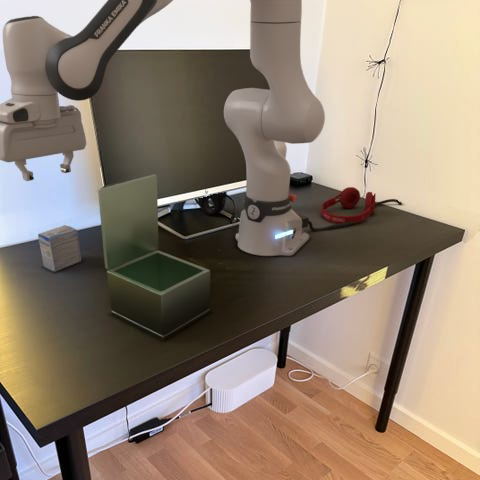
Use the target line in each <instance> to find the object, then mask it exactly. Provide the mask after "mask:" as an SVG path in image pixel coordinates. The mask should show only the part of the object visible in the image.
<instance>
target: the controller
mask: <svg viewBox="0 0 480 480" xmlns="http://www.w3.org/2000/svg"><path fill="white" fill-rule="evenodd" d="M227 194H228V192H227V191H226V192H224V193H218V194H213V195H210V196H207V197H203V198H198V197H197V203H198V206H199V208H200V209H201V211H203V212H204V214H206V215H209V216H215V215H218V214H220V213H221V212H222V211H223V210H224V209H225V205H226V203H227V201H226V200H227ZM209 200H210V201H212V204H213V208H212V207H211V206H210V202H209Z"/></svg>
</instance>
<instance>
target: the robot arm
mask: <svg viewBox="0 0 480 480" xmlns="http://www.w3.org/2000/svg"><path fill="white" fill-rule="evenodd" d="M173 1H174V0H107V1H106V2H105V3H104V4H103V5H102V6H101V7H100V9H99V10H98V12H97V13H96V14H95V15H94V16H93V17H92V18H91V20H90V21H89V22H88V23H87V24H86V25H85V26H84V28H82V29H81V31H80V32H78V33H77V34H75V35H71V34H69V33H67V32H64V31H63V30H60V29H59V28H57V27H55V26H54V25H52V24H51V23H49V22H48V21H46V20H45V19H44V18H43V17H42V16H38V15H29V16H22V17H17V18H12V19H11V18H10V19H9V20H8V21H6V23H5V24H4V26H3V28H2V45H3V46H2V47H3V54H4V60H5V67H6V71H7V72H8V74H9V77H10V82H11V85H10V93H11V98H9V99H8V100H7V99H6V100H5V101H3V102H1V103H0V161H2V162H5V163H13V162H14V165H15V166H16V168H17V169H19V171H20V172H21V175H22V179H23V181H25V182H29V181H34V180H35V177H34V172H33V171H31V170H28V169H27V166H26V165H27V160H31V159H37V158H43V157H48V156H54V155H59V154H62V156H64V157H63V162H62V163H59V167H60V172H61V173H63V174H68V173H71V172H72V168H71V167H72V166H71V164H72V163H73V159H74V156H75V155H74V152H78V151H82V150H85V149H86V146H87V138H86V133H85V128H84V125H83V122H82V120H83V119H82V114H81V113H82V112H81V110H80V109H79V108H78V107H76V106H74V105H72V104H71V105H70V104H69V105H66V106H65V105H60V99H59V95H61V96H62V97H64V98H66V99H67V100H71V101H76V102H78V101H87V100H89V99H91V98H92V97H94V96H95V95H96V94H97V93H98V92H99V90H100V88H101V87H102V85H103V82H104V77H105V73H106V69H107V66H108V64H109V63H110V61H111V59H112V58H113V56H114V55H115V54H116V53H117V51H118V50H119V49H120V48H121V47H122V46H123V44H124V43H125V42H126V41H127V40H128V39H129V37H130V36H131V35H132V33H133V32H134V31H135V30H136V29H137V28H138V27H139V26H140V25H141V24H142V23H143V22H145V21H146V20H147V19H149V18H150V17H152V16H154V15H155V14H157V13H159V12H160V11H162V10H163V9H165V8H166V7H167V6H169V5H170V4H171V3H172V2H173ZM249 2H250V11H249V12H250V14H249V15H250V16H249V17H250V18H249V20H250V22H249V28H250V29H249V34H250V35H249V58H250V61H251V65H252V66H253V68H255V69H256V70H257V71H259V72H260V73H261V74H262V75H263V77H264V79H265V80H266V81H267V84H268V87H269V89H266V88H265V89H264V88H256V87H247V88H240V89H235V90H233V91H231V92H230V93H229V95H228V96H227V98H226V101H225V103H224V106H223V107H224V108H223V117H224V122H225V124H226V126H227V128H228V129H229V130H230V131H231V132H232V133H233V134H234V136H235V138H236V139H237V141H238V143H239V145H240V147H241V150H242V152H243V156H244V160H245V167H246V182H245V183H246V184H245V185H246V186H245V187H246V188H245V193H244V197H243V210H242V211H241V213H240V218H239V226H238V233H236V234H235V236H234V238H235V240H236V241H237V247H238V248H239V249H240V250H241V251H242V252H245V253H247V254H250V255H254V256H262V257H274V256H285V257H287V256H289V257H290V256H293V255H295V254H296V253H297V252H298V251H299V250H300V248H301V247H302V246H304V245H305V243H307V242H308V241H309V239H310V235H309V234H308V233H307V232H305V231H304V230H303V229H304V228H308V226H309V230H311V231H312V232H323V231H328V230H331V229H337V228H343V227H349V226H353V225H356V224H357V223H355V222H348V223H343V224H338V223H335V224H332V225H327V226H324V227H319V228H316V227H314V226H313V222H312V221H311V220H310V218H309V216H306V215H303V214H301V213H299V212H296V211H294V210H293V209H292V204H291V203H295V202H296V201H297V197H298V196H297V194H293V193H290V183H291V182H290V181H291V172H292V171H291V165H290V163H289V161H288V160H287V159H285V158H284V157H283V156H281V155H280V154H279V152H278V151H277V149H276V146H275V143H274V141H280V142H285V144H293V145H294V144H296V145H297V144H310V143H313V142H314V141H316V140H317V138H319V136H320V135H321V133H322V131H323V129H324V126H325V120H326V114H325V113H326V112H325V109H324V106H323V104H322V101H321V100H320V99H318V98H317V97H316V95H315V94H314V93H313V92H312V90H311V88H310V86H309V85H308V82H307V81H306V78H305V75H304V71H303V67H302V58H301V37H302V34H301V33H302V15H303V5H302V3H303V1H302V0H249ZM398 200H399V199H396V198H389V199H384V200H380V201H377V202H376V201H375V207H376V206H380V205H384V204H387V203H396V204H398V205H399V206H402V205H403V202H402V201H400V200H399V201H400V202H399V201H398Z"/></svg>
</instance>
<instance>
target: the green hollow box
mask: <svg viewBox="0 0 480 480" xmlns="http://www.w3.org/2000/svg"><path fill="white" fill-rule="evenodd" d="M106 277H107V286H108V293H109V295H108V296H109V303H110V311H111V316H114V317H115V318H118V319H120V320H122V321H123V322H126V323H127V324H130V325H132V326H133V327H136V328H137V329H140V330H142V331H143V332H146V333H147V334H149V335H151V336H153V337H155V338H158V339H160V340H161V341H165V340H167V339H169V338H170V337H172V336H173V335H175V334H177V333H179V332H181V331H182V330H183V329H185V328H187V327H189V326H190V325H192V324H193V323H195V322H197V321H199V320H200V319H202V318H203V317H205V316H207V315H208V314H210V313H211V270H210V269H208V268H205V267H203V266H201V265H197V264H195V263H192V262H189V261H187V260H185V259H182V258H179V257H176V256H174V255H171V254H169V253H166V252H163V251H160V250H159V249H156V250H154V251H151V252H149V253H146V254H144V255H142V256H139V257H137V258H134V259H132V260H129V261H127V262H125V263H122V264H120V265H117V266H115V267H112V268H110V269H107V271H106Z"/></svg>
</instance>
